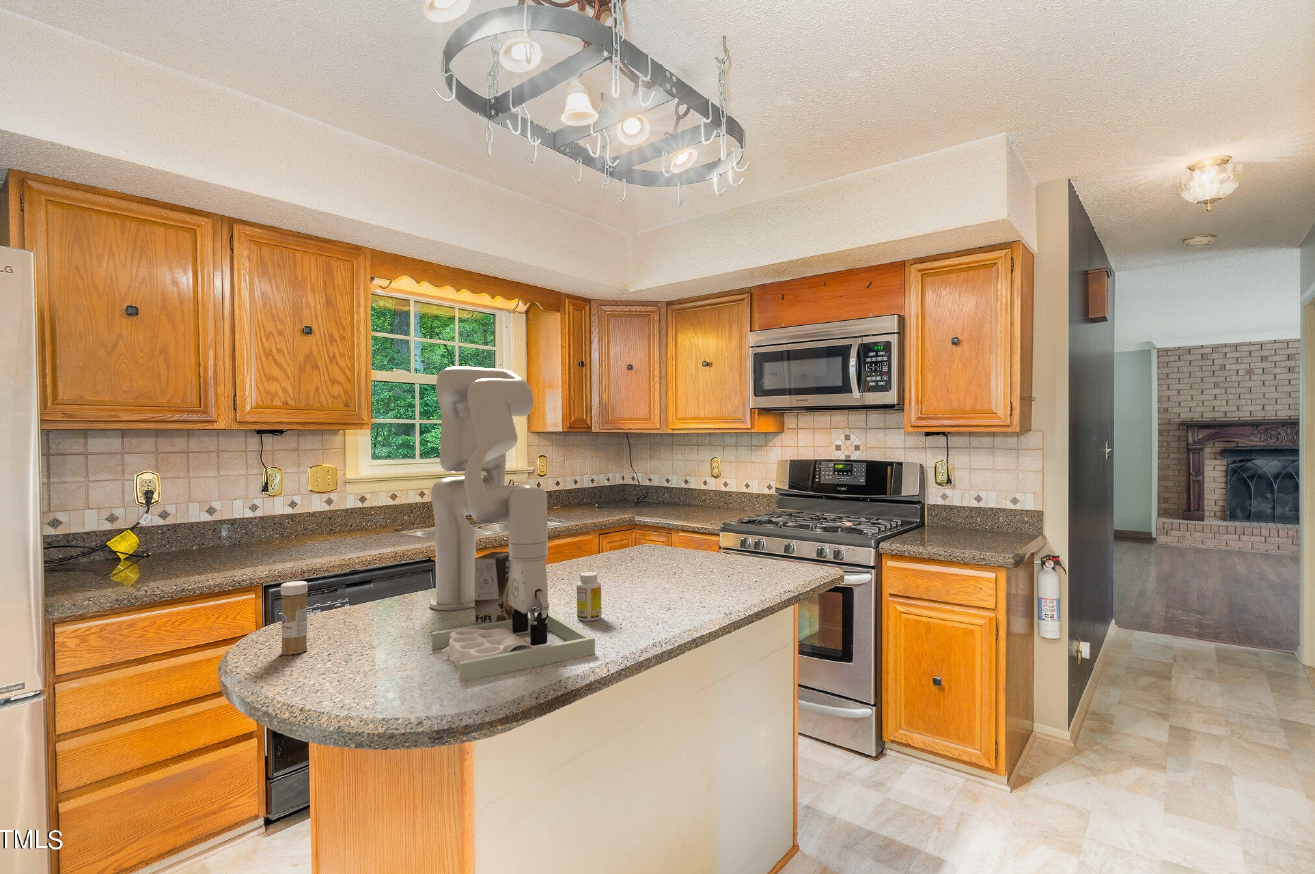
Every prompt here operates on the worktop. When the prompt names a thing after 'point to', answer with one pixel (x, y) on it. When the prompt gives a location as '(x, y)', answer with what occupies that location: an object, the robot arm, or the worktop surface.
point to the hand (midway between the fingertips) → (529, 638)
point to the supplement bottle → (588, 597)
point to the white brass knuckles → (482, 644)
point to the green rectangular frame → (517, 660)
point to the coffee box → (492, 588)
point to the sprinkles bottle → (294, 617)
